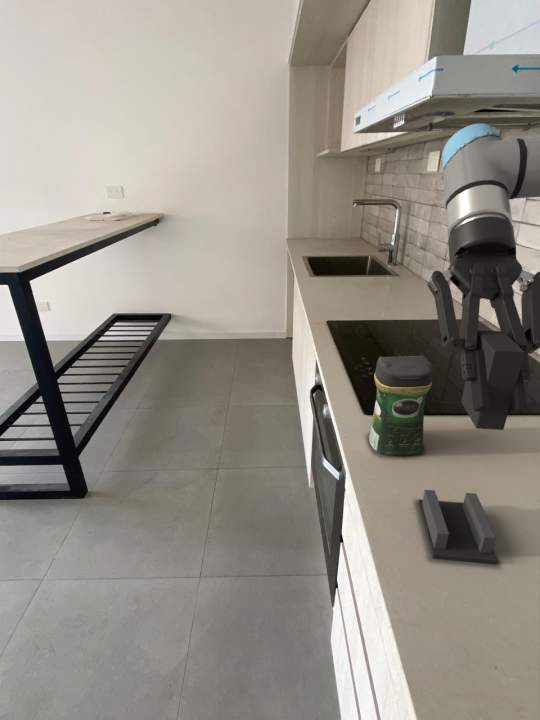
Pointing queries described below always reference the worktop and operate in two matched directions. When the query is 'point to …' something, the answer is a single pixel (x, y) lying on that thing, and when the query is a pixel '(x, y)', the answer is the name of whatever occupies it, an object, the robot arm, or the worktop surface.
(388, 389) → the coffee jar
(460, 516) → the base pad
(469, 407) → the dark gray block
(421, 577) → the worktop surface
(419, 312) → the worktop surface
